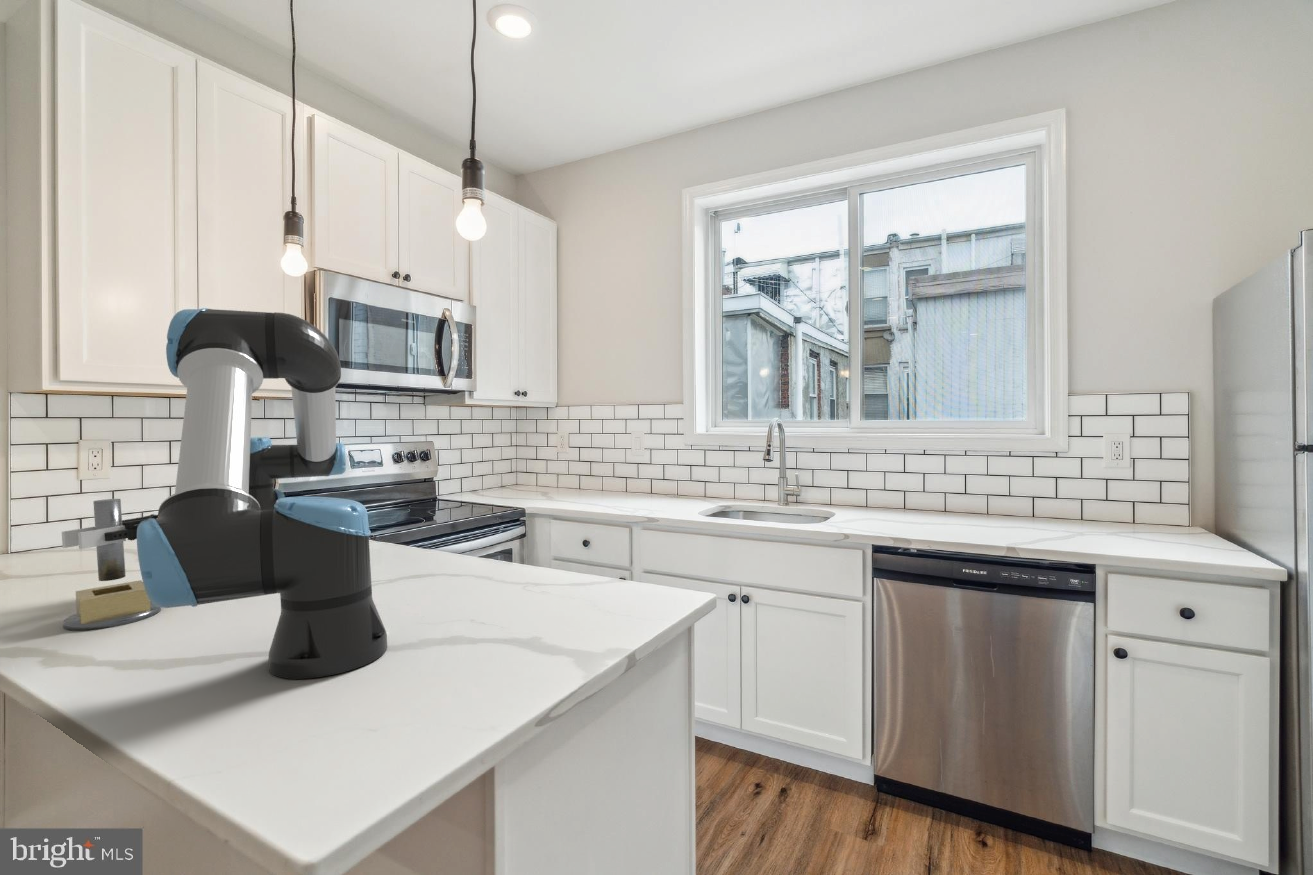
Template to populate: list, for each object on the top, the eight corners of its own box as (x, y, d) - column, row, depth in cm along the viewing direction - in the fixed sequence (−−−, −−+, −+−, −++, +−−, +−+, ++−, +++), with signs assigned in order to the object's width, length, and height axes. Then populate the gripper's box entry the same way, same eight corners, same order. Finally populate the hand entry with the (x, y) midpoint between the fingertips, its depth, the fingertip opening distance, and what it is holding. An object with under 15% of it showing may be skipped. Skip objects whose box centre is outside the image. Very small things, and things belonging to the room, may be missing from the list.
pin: (126, 577, 109) (121, 499, 109) (99, 582, 107) (94, 502, 106) (124, 574, 112) (119, 498, 111) (97, 578, 109) (92, 500, 109)
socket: (166, 615, 110) (165, 588, 110) (66, 636, 100) (64, 606, 100) (154, 601, 119) (152, 576, 118) (61, 619, 109) (59, 591, 109)
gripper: (241, 536, 124) (106, 565, 101) (182, 532, 129) (41, 559, 107) (239, 499, 123) (103, 520, 101) (180, 497, 128) (38, 516, 106)
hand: (72, 540), depth 104 cm, fingers closed on pin, 4 cm apart
